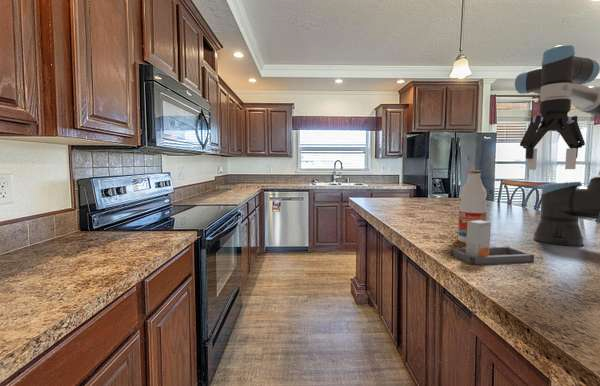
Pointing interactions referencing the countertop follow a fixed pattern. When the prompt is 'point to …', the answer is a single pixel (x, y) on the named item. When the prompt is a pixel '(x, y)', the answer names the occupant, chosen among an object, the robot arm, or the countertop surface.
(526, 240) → the countertop surface
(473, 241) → the skincare box
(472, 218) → the fruit juice
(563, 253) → the countertop surface
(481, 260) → the slide track
